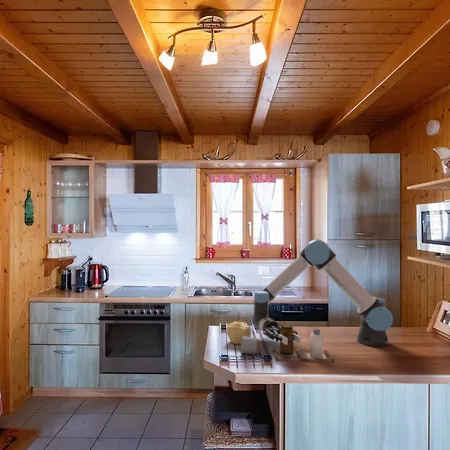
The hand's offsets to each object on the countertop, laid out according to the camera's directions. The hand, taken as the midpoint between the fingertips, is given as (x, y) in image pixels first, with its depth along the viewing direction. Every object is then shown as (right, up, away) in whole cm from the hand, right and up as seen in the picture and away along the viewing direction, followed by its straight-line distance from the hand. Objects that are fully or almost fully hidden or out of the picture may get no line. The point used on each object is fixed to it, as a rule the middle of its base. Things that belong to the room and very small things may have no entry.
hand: (293, 340), depth 155 cm
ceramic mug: (-18, -10, +12) cm, 24 cm away
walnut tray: (+5, -10, +4) cm, 11 cm away
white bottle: (+11, -8, +5) cm, 15 cm away
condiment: (-2, -7, +5) cm, 9 cm away
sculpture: (-23, -10, +26) cm, 36 cm away
